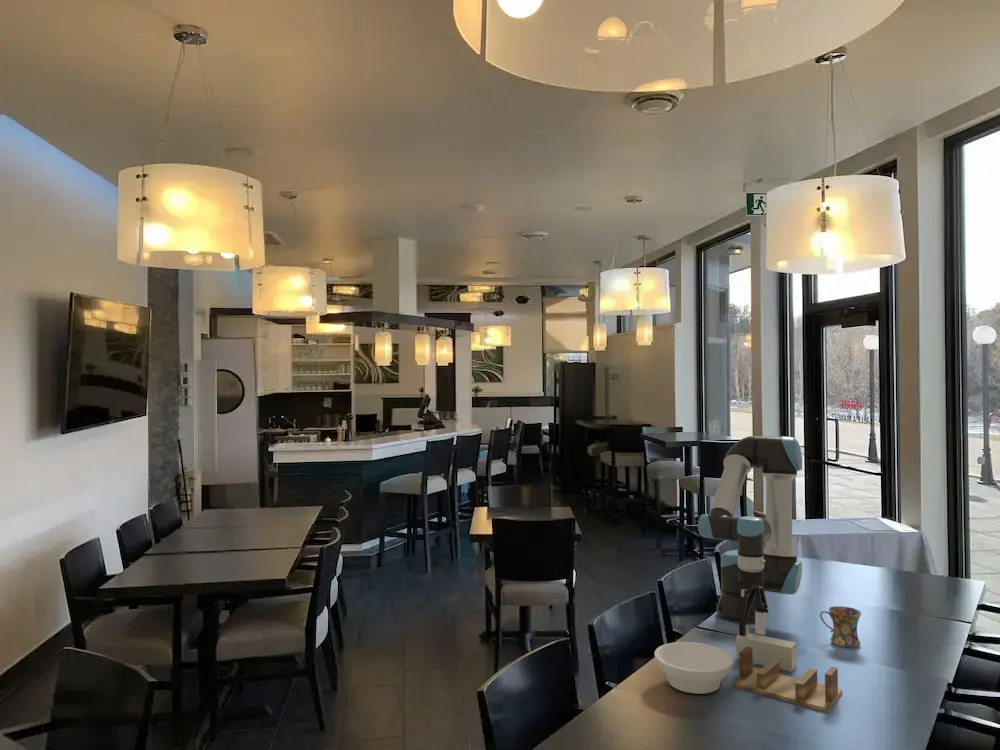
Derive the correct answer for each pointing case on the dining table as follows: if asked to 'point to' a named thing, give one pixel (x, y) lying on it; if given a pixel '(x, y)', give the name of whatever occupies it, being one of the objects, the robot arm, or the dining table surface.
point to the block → (770, 651)
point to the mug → (844, 625)
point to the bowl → (693, 666)
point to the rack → (788, 683)
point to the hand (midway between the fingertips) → (752, 639)
